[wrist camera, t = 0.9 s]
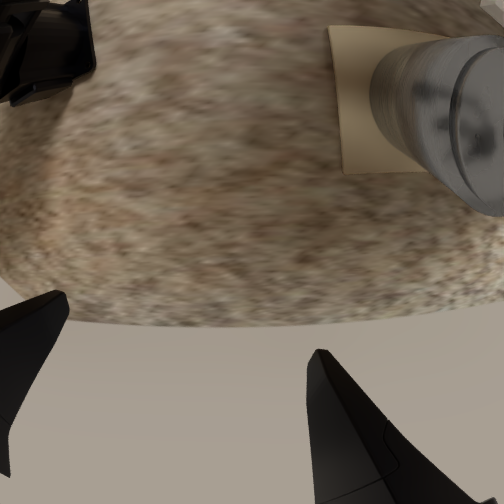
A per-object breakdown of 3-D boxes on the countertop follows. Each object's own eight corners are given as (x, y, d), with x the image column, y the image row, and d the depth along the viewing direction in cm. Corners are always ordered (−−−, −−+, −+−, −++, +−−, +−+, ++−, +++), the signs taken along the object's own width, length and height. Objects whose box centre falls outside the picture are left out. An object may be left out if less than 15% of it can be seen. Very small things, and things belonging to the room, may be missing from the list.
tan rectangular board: (327, 27, 13) (329, 25, 13) (508, 55, 11) (513, 55, 10) (342, 172, 18) (344, 175, 18) (507, 171, 16) (511, 174, 15)
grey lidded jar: (362, 40, 13) (462, 5, 4) (467, 53, 12) (591, 69, 3) (372, 159, 17) (457, 253, 8) (468, 159, 16) (573, 239, 7)
